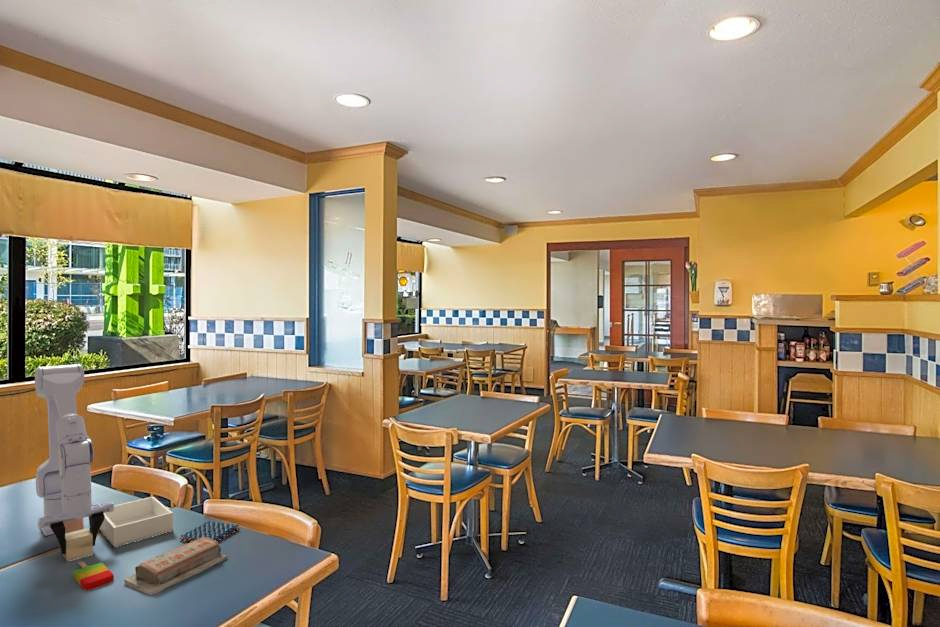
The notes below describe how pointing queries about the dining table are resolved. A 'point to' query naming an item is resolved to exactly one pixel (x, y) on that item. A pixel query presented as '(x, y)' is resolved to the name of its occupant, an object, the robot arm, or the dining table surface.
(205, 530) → the woven mat
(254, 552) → the dining table surface
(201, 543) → the packaged product
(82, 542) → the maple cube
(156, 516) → the tote
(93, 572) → the popsicle
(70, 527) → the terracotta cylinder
